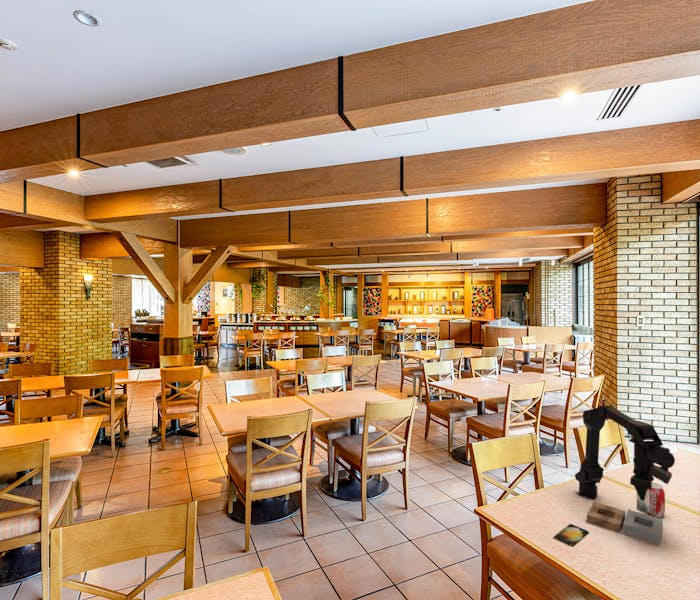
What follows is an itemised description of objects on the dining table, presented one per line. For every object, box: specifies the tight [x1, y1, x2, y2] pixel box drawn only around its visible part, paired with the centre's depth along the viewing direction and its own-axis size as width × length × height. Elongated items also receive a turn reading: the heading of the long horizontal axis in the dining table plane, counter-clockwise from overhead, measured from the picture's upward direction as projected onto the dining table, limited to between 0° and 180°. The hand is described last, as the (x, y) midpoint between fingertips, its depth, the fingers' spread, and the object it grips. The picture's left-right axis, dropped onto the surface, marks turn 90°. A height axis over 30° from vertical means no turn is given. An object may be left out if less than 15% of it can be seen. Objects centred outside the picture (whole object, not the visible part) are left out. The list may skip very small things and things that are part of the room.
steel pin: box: [636, 489, 650, 514], centre depth 150 cm, size 4×4×9 cm
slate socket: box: [622, 509, 664, 547], centre depth 150 cm, size 11×14×4 cm
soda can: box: [646, 482, 666, 518], centre depth 163 cm, size 7×7×12 cm
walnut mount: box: [586, 501, 626, 534], centre depth 158 cm, size 11×14×3 cm
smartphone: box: [552, 523, 590, 548], centre depth 147 cm, size 7×1×15 cm
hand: (643, 498), depth 150 cm, fingers closed on steel pin, 4 cm apart
